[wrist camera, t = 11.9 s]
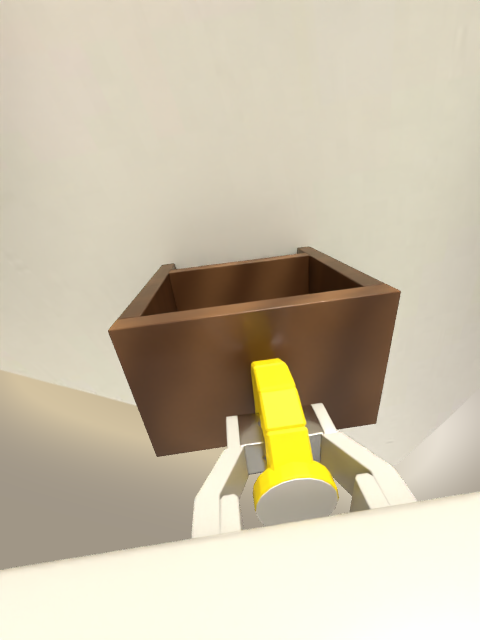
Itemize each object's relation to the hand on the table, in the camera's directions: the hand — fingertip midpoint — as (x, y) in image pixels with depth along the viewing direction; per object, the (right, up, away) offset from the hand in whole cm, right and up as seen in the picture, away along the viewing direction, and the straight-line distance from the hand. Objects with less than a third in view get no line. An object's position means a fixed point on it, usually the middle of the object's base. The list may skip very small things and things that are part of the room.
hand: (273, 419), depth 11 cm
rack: (-1, +7, +14) cm, 16 cm away
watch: (0, +1, +2) cm, 2 cm away
